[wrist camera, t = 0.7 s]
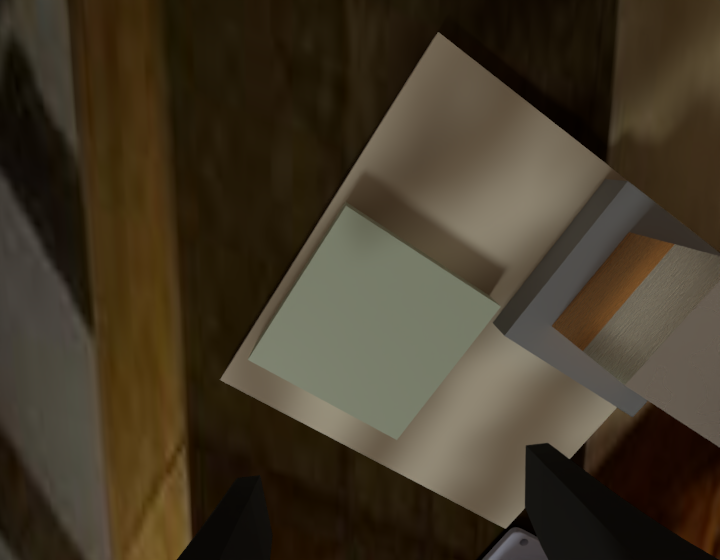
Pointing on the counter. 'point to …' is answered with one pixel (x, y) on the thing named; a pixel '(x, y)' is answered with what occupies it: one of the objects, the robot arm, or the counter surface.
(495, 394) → the board
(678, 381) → the block
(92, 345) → the counter surface
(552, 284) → the stand
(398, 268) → the stand
